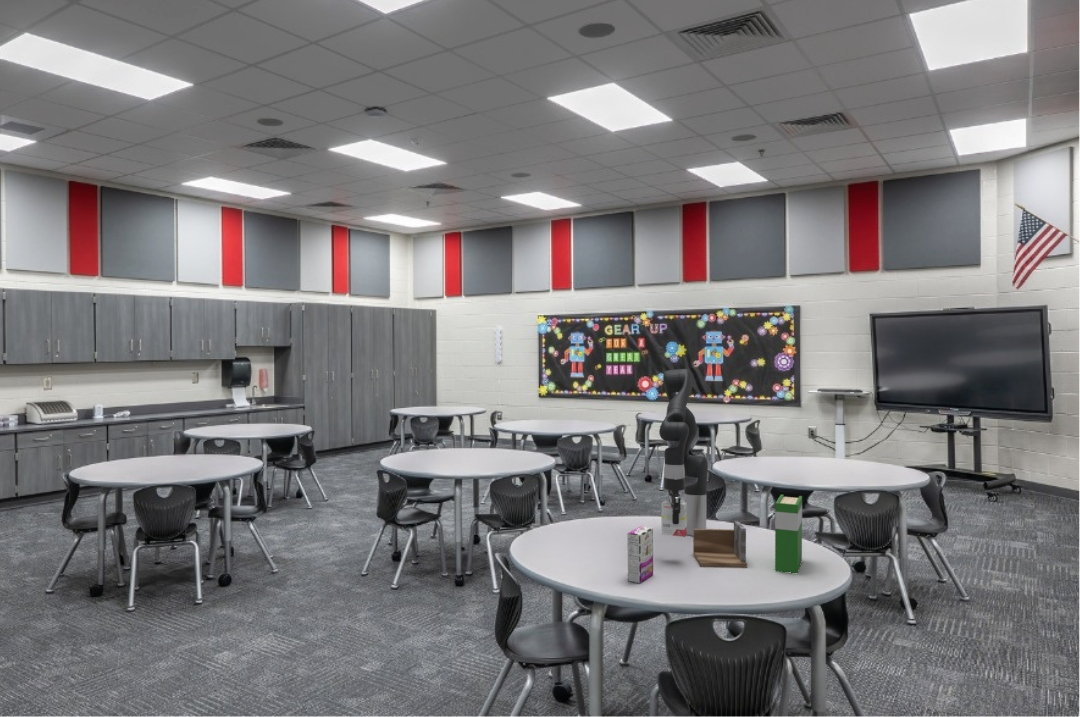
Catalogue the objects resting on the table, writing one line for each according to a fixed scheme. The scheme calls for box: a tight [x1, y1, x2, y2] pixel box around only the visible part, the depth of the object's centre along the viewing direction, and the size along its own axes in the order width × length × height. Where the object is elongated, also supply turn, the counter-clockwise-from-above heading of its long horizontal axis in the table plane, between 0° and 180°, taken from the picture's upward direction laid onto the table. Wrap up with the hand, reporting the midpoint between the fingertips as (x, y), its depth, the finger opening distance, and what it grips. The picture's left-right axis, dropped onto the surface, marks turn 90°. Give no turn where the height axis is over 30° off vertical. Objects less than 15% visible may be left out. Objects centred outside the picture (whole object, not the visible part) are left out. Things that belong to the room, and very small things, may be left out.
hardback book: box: [774, 494, 803, 574], centre depth 249 cm, size 18×7×24 cm, turn 155°
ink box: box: [660, 500, 687, 537], centre depth 253 cm, size 9×5×12 cm, turn 66°
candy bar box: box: [626, 525, 654, 584], centre depth 233 cm, size 11×5×16 cm, turn 148°
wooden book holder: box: [692, 520, 748, 569], centre depth 254 cm, size 15×16×14 cm
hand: (674, 521), depth 253 cm, fingers closed on ink box, 6 cm apart
